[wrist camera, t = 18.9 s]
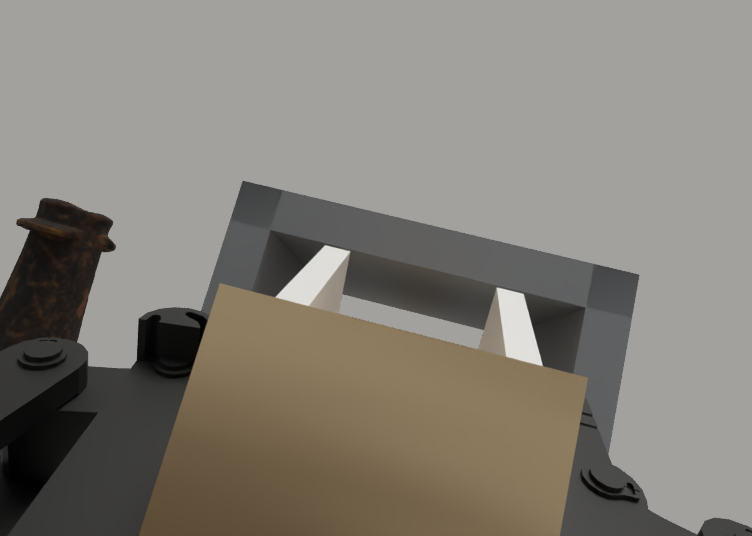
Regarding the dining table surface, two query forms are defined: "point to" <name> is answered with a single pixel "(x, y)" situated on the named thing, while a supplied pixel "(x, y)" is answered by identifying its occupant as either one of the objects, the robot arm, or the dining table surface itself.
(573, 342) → the shelf
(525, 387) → the wooden bar
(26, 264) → the glass bottle
